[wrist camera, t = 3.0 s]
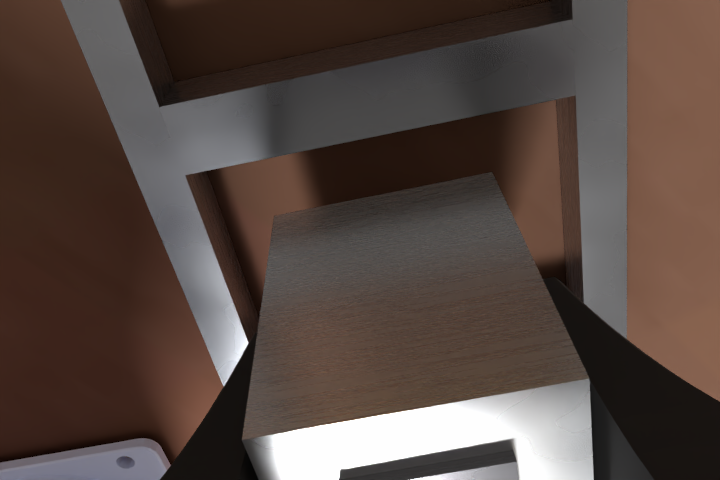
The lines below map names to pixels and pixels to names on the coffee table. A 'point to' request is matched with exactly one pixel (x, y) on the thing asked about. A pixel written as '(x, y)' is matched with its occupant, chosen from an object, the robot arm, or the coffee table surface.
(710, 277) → the coffee table surface
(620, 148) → the yellow grey ladder frame
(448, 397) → the block
